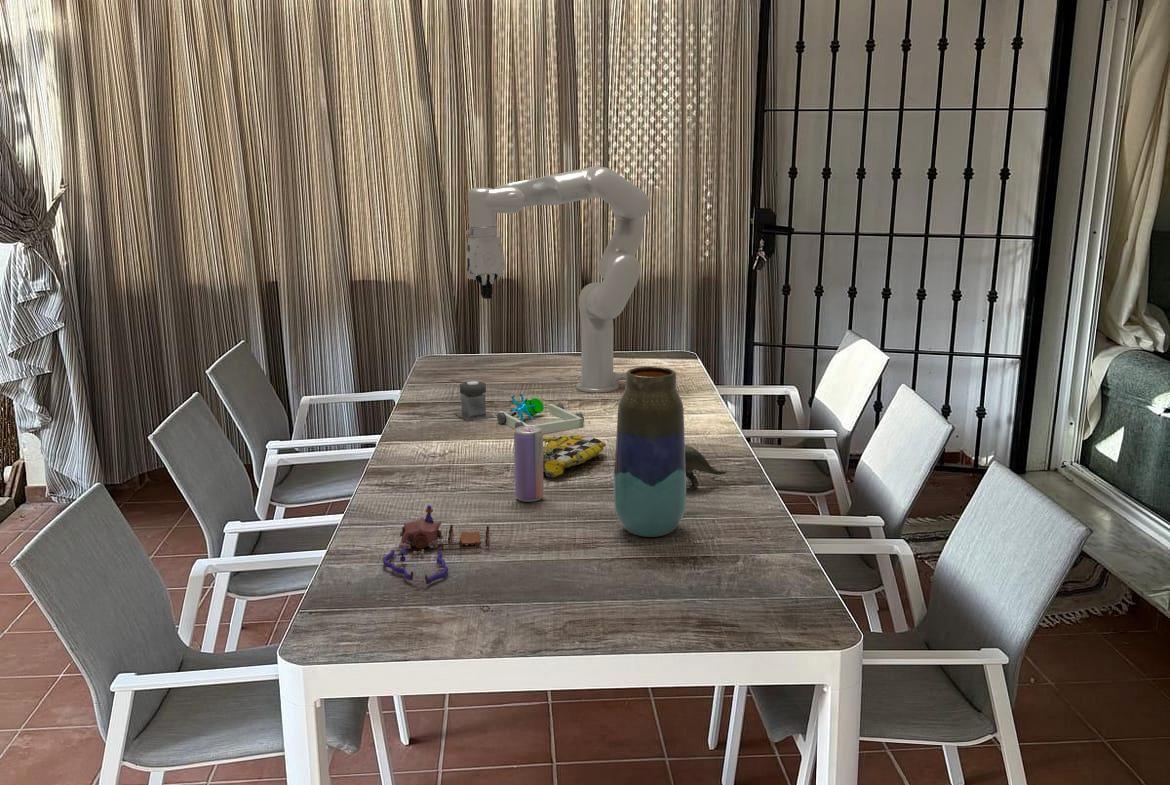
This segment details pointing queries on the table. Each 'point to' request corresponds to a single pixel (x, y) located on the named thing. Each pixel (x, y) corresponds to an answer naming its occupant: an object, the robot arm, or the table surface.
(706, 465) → the dinosaur figurine
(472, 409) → the axle mount
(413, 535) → the playset
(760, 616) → the table surface
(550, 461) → the toy spacecraft
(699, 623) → the table surface
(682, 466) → the vase
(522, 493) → the beverage can
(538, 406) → the stick construction toy
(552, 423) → the chassis bay
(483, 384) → the wheel
